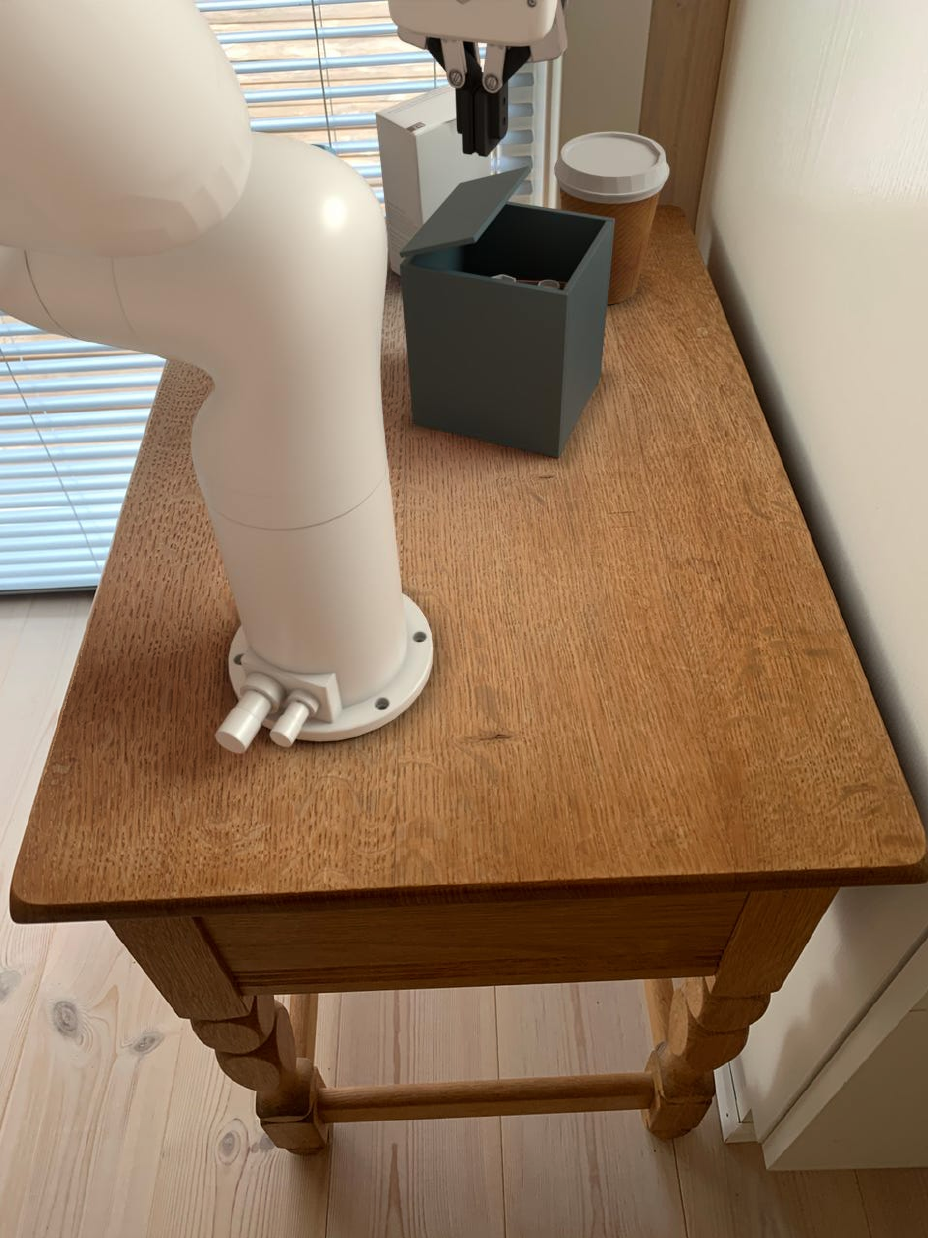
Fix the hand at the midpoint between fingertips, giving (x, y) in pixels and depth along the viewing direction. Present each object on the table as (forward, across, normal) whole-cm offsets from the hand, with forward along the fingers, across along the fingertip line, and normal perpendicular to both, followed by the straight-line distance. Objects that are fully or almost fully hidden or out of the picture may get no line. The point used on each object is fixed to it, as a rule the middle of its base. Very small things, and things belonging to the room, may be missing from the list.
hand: (482, 146), depth 65 cm
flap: (+5, -1, 0) cm, 5 cm away
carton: (+20, +2, 0) cm, 20 cm away
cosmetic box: (+20, -11, +17) cm, 28 cm away
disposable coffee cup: (+20, +4, +19) cm, 28 cm away
